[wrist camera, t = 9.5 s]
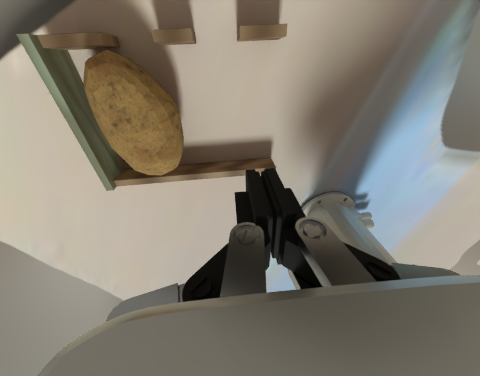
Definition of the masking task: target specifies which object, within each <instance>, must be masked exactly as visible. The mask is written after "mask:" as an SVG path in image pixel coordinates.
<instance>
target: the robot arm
mask: <svg viewBox="0 0 480 376" xmlns="http://www.w3.org/2000/svg"><path fill="white" fill-rule="evenodd" d="M235 202H236V215H237V225H236V226H234V227H233V229H232V230H231V232H230V237H229V243H228V244H227V245H225V246H224V247H223V248H222V249H221V250H220V251H219V252H218V253H217V254H216V255H214V256H213V257H212V258H211V259H210V260H209V261H208V262H207V263H206V264H205V265H203V266H202V267H201V268H200V269H199V270H198V271H197V272H196V273H195V274H194V275H193V276H191V277H190V278H189V280H188V281H187V282H186V283H184V284H181V285H178V283H176V284H173V285H170V286H167V287H164V288H161V289H158V290H155V291H151V292H148V293H145V294H142V295H139V296H136V297H133V298H130V299H127V300H125V301H123V302H121V303H120V304H119V305H118V306H116V307H115V308H114V309H113V310H112V312H111V313H110V314H109V316H108V318H107V320H106V322H104V323H102V324H101V325H99V326H97V327H95V328H93V329H92V330H89V331H88V332H86V333H85V334H83V335H81V336H80V337H79V338H77V339H75V340H74V341H72V342H71V343H70V344H68V345H67V346H66V347H65V348H63V349H62V350H61V351H60V352H59V353H57V355H56V356H55V357H54V358H53V359H52V360H51V361H50V362H49V363H48V364H47V365H46V366H45V367H44V369H43V370H42V371H41V372H40V373H39V375H38V376H480V275H459V274H457V273H455V272H453V271H451V270H447V269H443V268H435V267H426V266H417V265H408V264H399V263H397V262H396V261H395V260H394V258H393V257H392V256H391V255H390V254H389V253H388V252H387V250H386V249H385V248H384V247H383V246H382V245H381V244H380V243H379V241H378V240H377V239H376V238H375V237H374V236H373V235H372V233H371V232H370V231H369V230H368V229H367V228H372V227H373V226H374V223H373V221H372V220H371V218H372V215H371V213H370V212H366V213H359V212H357V210H356V206H355V203H354V201H353V200H352V199H351V198H350V197H349V196H348V195H346V194H344V193H340V192H330V193H325V194H322V195H319V196H317V197H315V198H313V199H312V200H310V201H309V202H307V203H306V204H305V205H304V206H303V208H301V206H300V205H299V203H298V201H297V199H296V197H295V195H294V194H293V192H292V190H291V189H290V188H284V186H283V184H282V182H281V180H280V178H279V176H278V174H277V172H276V170H275V168H265V169H264V171H261V176H260V173H259V171H257V172H256V171H255V169H251V170H246V192H235ZM362 219H363V220H362ZM270 252H271V254H272V258H276V260H277V263H278V265H279V264H282V265H283V266H284V267H286V268H288V273H289V276H290V278H291V280H292V282H293V284H294V286H295V288H296V290H289V291H279V292H269V293H266V272H265V271H266V270H267V268H268V267H269V262H270Z"/></svg>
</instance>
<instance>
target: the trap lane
mask: <svg viewBox="0 0 480 376" xmlns="http://www.w3.org/2000/svg"><path fill="white" fill-rule="evenodd" d="M151 33H152V37H153V41H154V43H157V44H160V45H176V44H196V38H195V32H194V31H193V30H192V29H191V28H182V29H160V30H151ZM286 33H287V24H270V25H248V26H239V28H238V30H237V41H256V40H276V39H280V38H283V37H285V36H286ZM17 36H18V38H19V40H20V42H21V43H22V45H23V47H24V48H25V50H26V52H27V54H28V55H29V57H30V59H31V61H32V62H33V64H34V66H35V67H36V69H37V71H38V73H39V74H40V76H41V78H42V80H43V81H44V83H45V85H46V86H47V88H48V90H49V92H50V93H51V95H52V97H53V99H54V100H55V102H56V104H57V106H58V107H59V109H60V111H61V112H62V114H63V116H64V118H65V119H66V121H67V123H68V125H69V126H70V128H71V130H72V131H73V133H74V135H75V137H76V138H77V140H78V142H79V144H80V145H81V147H82V149H83V151H84V152H85V154H86V156H87V157H88V159H89V161H90V163H91V164H92V166H93V168H94V170H95V171H96V173H97V175H98V176H99V178H100V180H101V182H102V183H103V185H104V187H105V189H106V190H107V191H108V190H114V189H115V188H116V186H126V185H138V184H150V183H161V182H173V181H185V180H197V179H208V178H220V177H232V176H244V175H246V170H251V169H255V171H256V172H257V171H259V173H260V174H261V171H264V169H265V168H275V170H276V166H275V165H274V163H273V161H272V159H271V158H262V159H249V160H237V161H225V162H212V163H200V164H188V165H178V167H177V168H175V169H174V170H172V171H170V172H168V173H166V174H163V175H146V174H144V173H141V172H138V171H136V170H134V169H126V170H124V169H123V167H122V165H121V163H120V161H119V158H118V156H117V154H116V152H115V151H114V150H113V149H112V148H111V146H110V144H109V143H108V141H107V140H106V138H105V136H104V135H103V133H102V131H101V129H100V127H99V125H98V123H97V121H96V119H95V116H94V114H93V112H92V109H91V107H90V104H89V101H88V98H87V95H86V92H85V89H84V86H83V82H82V80H81V78H80V76H79V74H78V72H77V70H76V67H75V65H74V63H73V61H72V59H71V57H70V55H69V53H68V50H75V49H95V48H115V47H120V46H119V43H118V40H117V37H116V36H113V35H109V34H105V33H101V32H94V33H73V34H51V35H32V34H17Z"/></svg>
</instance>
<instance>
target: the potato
mask: <svg viewBox="0 0 480 376" xmlns="http://www.w3.org/2000/svg"><path fill="white" fill-rule="evenodd" d="M83 86H84V89H85V92H86V95H87V98H88V101H89V104H90V107H91V109H92V112H93V114H94V116H95V119H96V121H97V123H98V125H99V127H100V129H101V131H102V133H103V135H104V136H105V138H106V140H107V141H108V143H109V144H110V146H111V148H112V149H113V150H114V151H115V152H117V153H118V154H119V155H120V156H121V157H122V158H123V159H124V160H125V161H126V162H127V163H128V164H129V165H130V166H131V167H132V168H133V169H134V170H136V171H138V172H141V173H144V174H146V175H163V174H166V173H168V172H170V171H172V170H174V169H175V168H177V167H178V164H179V162H180V159H181V156H182V153H183V142H184V137H183V130H182V124H181V118H180V113H179V111H178V109H177V107H176V105H175V103H174V101H173V99H172V97H171V96H170V95H169V94H168V93H167V92H166V91H165V90H164V89H163V88H162V87H161V86H160V85H159V84H158V83H157V82H156V81H155V80H154V79H153V78H151V77H150V76H149V75H148V74H147V73H146V72H145V71H144V70H143V69H142V68H140V67H139V66H138V65H136V64H135V63H134V62H132V61H131V60H130V59H128V58H126V57H124V56H121V55H119V54H116V53H114V52H111V51H109V50H104V51H102V52H100V53H98V54H97V55H95V56H93V57H91V58H89V59H88V60H87V61H86V62H85V71H84V84H83Z"/></svg>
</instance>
